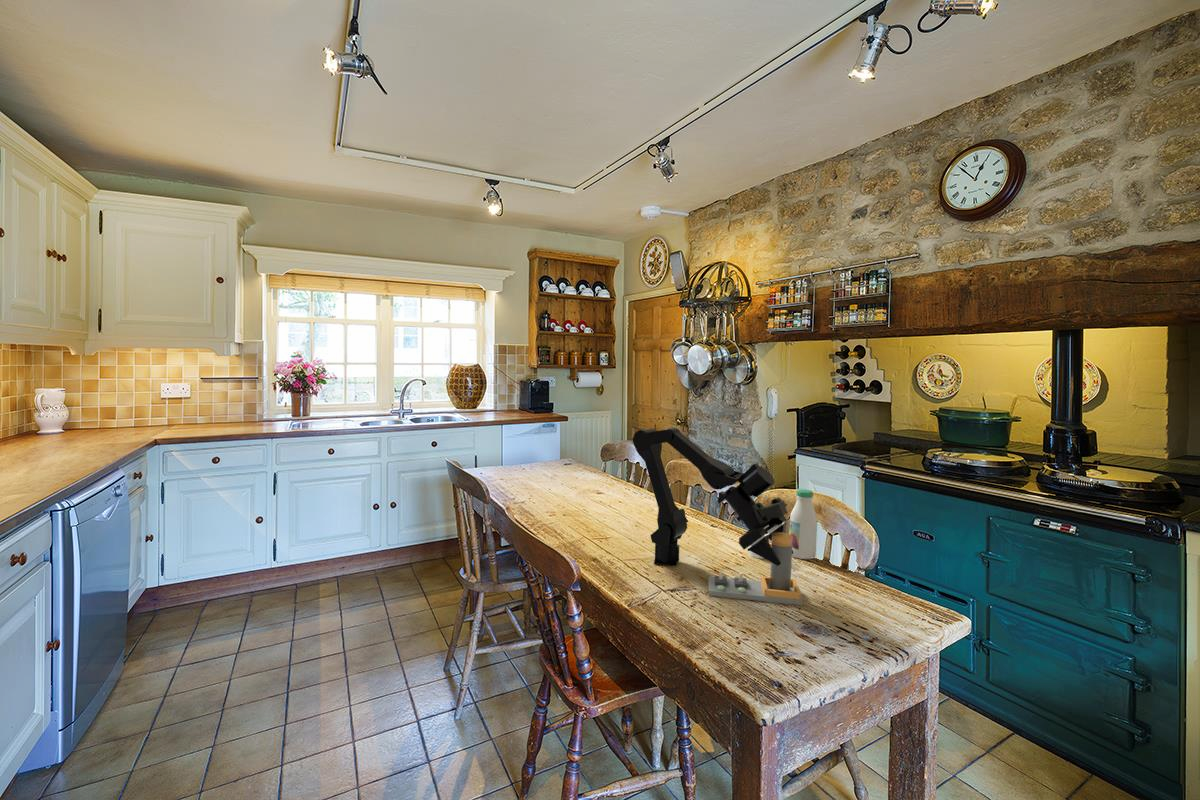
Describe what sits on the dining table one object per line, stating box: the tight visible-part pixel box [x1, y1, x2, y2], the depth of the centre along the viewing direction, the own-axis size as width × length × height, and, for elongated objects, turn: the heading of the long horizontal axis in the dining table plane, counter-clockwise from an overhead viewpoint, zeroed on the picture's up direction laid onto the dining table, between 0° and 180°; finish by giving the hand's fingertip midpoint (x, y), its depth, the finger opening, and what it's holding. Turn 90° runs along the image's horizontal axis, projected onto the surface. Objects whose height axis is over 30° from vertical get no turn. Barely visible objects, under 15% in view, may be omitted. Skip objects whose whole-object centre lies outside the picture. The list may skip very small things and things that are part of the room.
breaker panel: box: [707, 570, 803, 606], centre depth 129 cm, size 22×9×4 cm, turn 79°
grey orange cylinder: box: [769, 532, 793, 591], centre depth 128 cm, size 5×5×14 cm
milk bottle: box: [788, 488, 818, 560], centre depth 155 cm, size 8×8×20 cm
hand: (785, 559), depth 127 cm, fingers open, 9 cm apart
